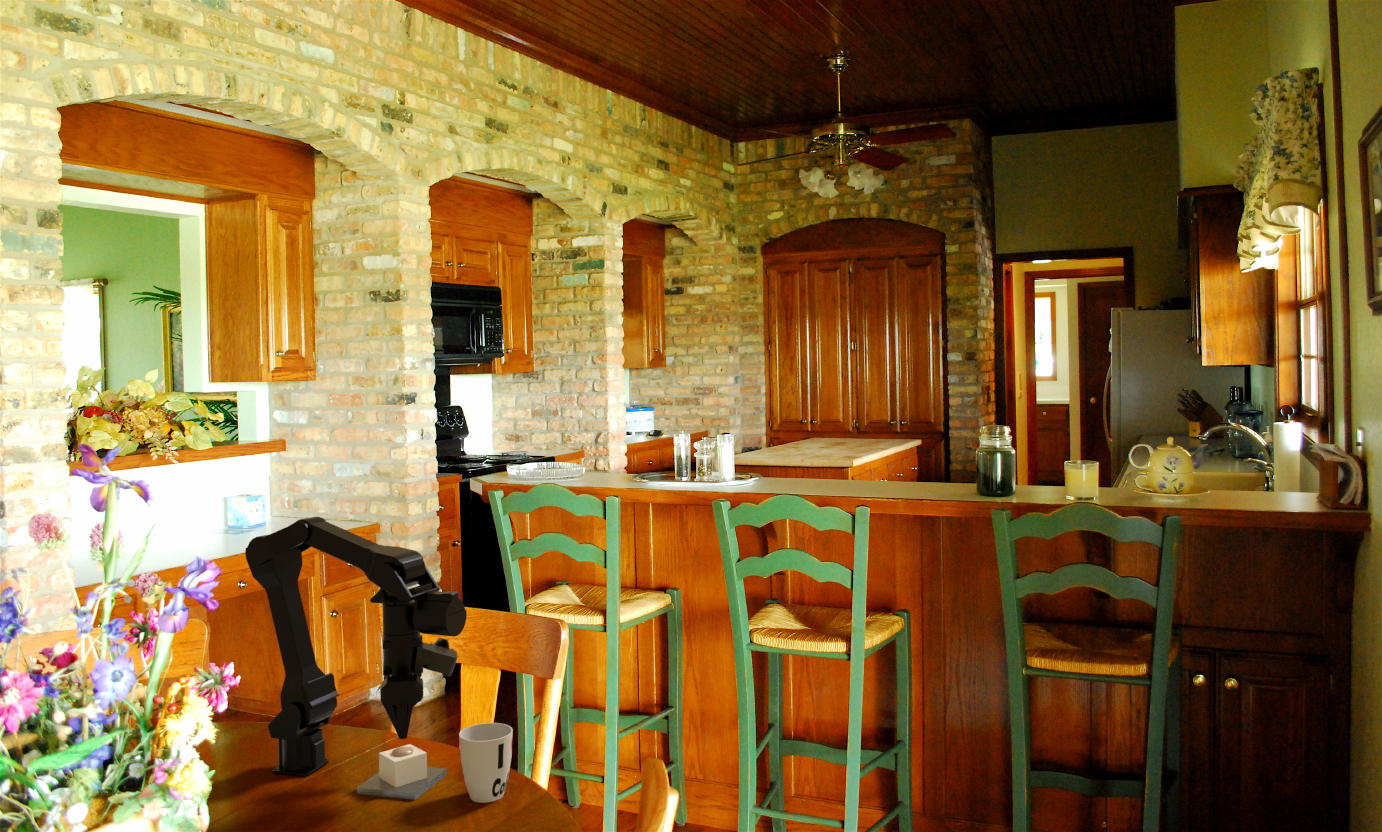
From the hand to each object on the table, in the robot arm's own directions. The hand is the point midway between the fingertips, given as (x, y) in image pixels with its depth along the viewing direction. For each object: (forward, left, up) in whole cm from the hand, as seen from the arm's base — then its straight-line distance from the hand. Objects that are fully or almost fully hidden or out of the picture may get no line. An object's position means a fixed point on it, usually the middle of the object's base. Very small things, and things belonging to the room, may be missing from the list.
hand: (403, 728), depth 155 cm
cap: (0, 0, -8) cm, 8 cm away
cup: (+15, -1, -9) cm, 17 cm away
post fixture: (0, 0, -9) cm, 9 cm away
